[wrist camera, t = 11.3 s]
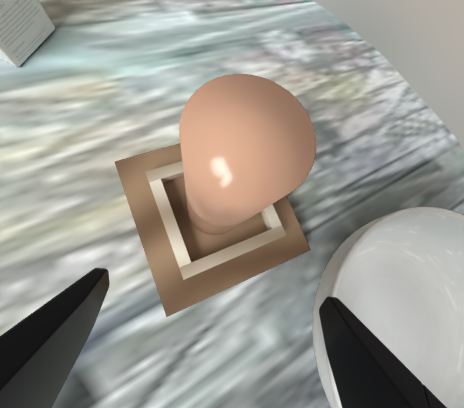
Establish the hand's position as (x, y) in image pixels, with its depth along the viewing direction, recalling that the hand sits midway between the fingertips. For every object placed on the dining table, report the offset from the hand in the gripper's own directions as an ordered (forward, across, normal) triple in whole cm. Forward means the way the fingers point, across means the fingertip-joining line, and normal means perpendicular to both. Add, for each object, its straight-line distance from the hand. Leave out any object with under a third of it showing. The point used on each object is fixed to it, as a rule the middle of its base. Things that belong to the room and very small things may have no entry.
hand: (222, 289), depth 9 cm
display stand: (+12, 0, +4) cm, 13 cm away
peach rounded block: (+11, 0, +3) cm, 12 cm away
